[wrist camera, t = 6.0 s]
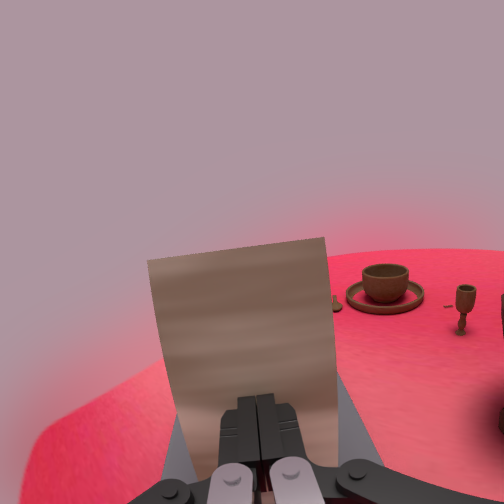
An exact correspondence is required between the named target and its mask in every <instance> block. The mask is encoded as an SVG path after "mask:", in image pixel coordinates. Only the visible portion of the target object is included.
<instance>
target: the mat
mask: <svg viewBox="0 0 504 504" xmlns="http://www.w3.org/2000/svg"><path fill="white" fill-rule="evenodd" d="M337 390H338V467H340V466H341V465H342V464H344V463H345V462H347V461H349V460H352V459H367V460H369V461H372V462H374V463H376V464H379V465H381V466H384V464H383V462H382V460H381V458H380V456H379V454H378V452H377V450H376V448H375V446H374V444H373V442H372V440H371V438H370V436H369V434H368V432H367V430H366V428H365V426H364V424H363V422H362V420H361V418H360V416H359V414H358V412H357V410H356V408H355V406H354V404H353V402H352V400H351V398H350V396H349V394H348V392H347V390H346V388H345V386H344V384H343V382H342V380H341V378H340V376H339V374H338V372H337ZM384 467H385V466H384ZM171 478H172V479H179V480H181V481H183V482H185V483H186V484H191V483H195V482H199V481H198V478H197V476H196V473H195V470H194V467H193V464H192V461H191V458H190V455H189V452H188V448H187V445H186V442H185V439H184V435H183V432H182V429H181V425H180V422H179V418H178V414H177V415H176V419H175V423H174V427H173V431H172V435H171V439H170V443H169V447H168V451H167V456H166V460H165V464H164V469H163V473H162V477H161V480H164V479H171Z"/></svg>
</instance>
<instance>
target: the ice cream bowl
mask: <svg viewBox="0 0 504 504" xmlns="http://www.w3.org/2000/svg"><path fill="white" fill-rule="evenodd" d="M501 301H502V309H501V316H502V325H503V336H504V294H503V295H501ZM499 428H500V430H501V431H502V433H503V434H504V408H503V409H502V410H501V412H500V418H499Z"/></svg>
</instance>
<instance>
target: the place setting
mask: <svg viewBox="0 0 504 504" xmlns="http://www.w3.org/2000/svg"><path fill="white" fill-rule="evenodd" d="M408 278H409V270H408V269H407V268H406V267H405V266H402V265H398V264H376V265H371V266H368V267H366V268H364V269H363V271H362V281H360V282H357V283H355V284H353V285H351V286H350V287H349V288H348V289H347V290H346V298H347V301H348V302H349V304H350V305H351V306H353V307H354V308H356V309H358V310H360V311H363V312H367V313H372V314H383V315H385V314H398V313H403V312H406V311H409V310H412V309H413V308H415V307H417V306H418V305H419V304H420V303H421V301H422V300H423V297H424V289H423V288H422V286H420V285H419V284H417V283H415V282H413V281H410V280H408ZM407 289H408V290H410V291H412V292H414V293H415V294H416V295H417V297H418V299H416V300H414V301H412V302H410V303H407V304H403V305H397V306H372V305H367V304H363V303H359V302H357V301H355V300H353V299H352V298H353V296H354V295H355V294H356V293H358V292H359V291H361V290H364V291H365V293H366V294H367V295H369V296H370V297H372V299H373V300H374V301H376V302H380V303H390V302H394V301H396V300H397V299H398V297H400V296H401V295H403V294H404V293H405V292H406V290H407ZM475 298H476V287H475V286H472V285H467V284H463V285H459V286H458V287H457V291H456V309H457V310H458V311H459V312H460V320H459V321H458V327H459V329H458V330H457V331H456V332H455V333H456V334H457V335H460V336H462V335H465V334H466V332H465V331H464V330H463V329H464V328H465V326H466V316H467V314H466V313H469V312H471V311H472V309H473V307H474V304H475ZM451 306H452V305H450V306H449V305H448V306H444V307H451ZM341 308H342V304H340V303H338V302H337V299H336V295H333V303H332V310H333V311H339V310H340V309H341Z"/></svg>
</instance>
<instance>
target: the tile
mask: <svg viewBox="0 0 504 504" xmlns="http://www.w3.org/2000/svg"><path fill="white" fill-rule="evenodd" d="M147 264H148V271H149V278H150V285H151V292H152V298H153V304H154V310H155V316H156V322H157V327H158V332H159V337H160V342H161V347H162V352H163V357H164V362H165V366H166V371H167V375H168V379H169V383H170V387H171V391H172V395H173V399H174V403H175V407H176V411H177V414H178V418H179V422H180V425H181V429H182V432H183V435H184V439H185V442H186V445H187V448H188V452H189V455H190V458H191V461H192V464H193V467H194V470H195V473H196V476H197V478H198V481H202V480H205V479H207V478H209V477H210V476H211V475H212V474H213V472H214V471H215V470H216V469H217V467H218V455H219V438H220V421H221V417H222V416H223V414H224V413H225V411H226V410H233V409H237V398H238V397H245V396H254V395H255V398H256V395H261V394H269V393H274V398H275V404H282V403H289V404H290V405H291V406H292V407H293V408H294V409H295V411H296V415H297V420H298V423H299V428H300V431H301V435H302V439H303V443H304V448H305V452H306V455H307V457H308V459H309V460H310V461H311V462H313V463H314V464H316V465H319V466H323V467H338V390H337V367H336V350H335V335H334V322H333V310H332V299H331V289H330V280H329V271H328V262H327V254H326V247H325V239H324V237H321V238H312V239H305V240H297V241H290V242H282V243H274V244H266V245H258V246H251V247H243V248H237V249H229V250H220V251H213V252H206V253H198V254H190V255H184V256H176V257H168V258H161V259H154V260H148V261H147ZM256 404H257V398H256ZM257 410H258V409H257ZM265 478H266V476H265ZM266 488H267V492H262V493H261V499H262V504H275V500H274V495H273V491H271V492H269V491H268V486H267V481H266Z"/></svg>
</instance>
